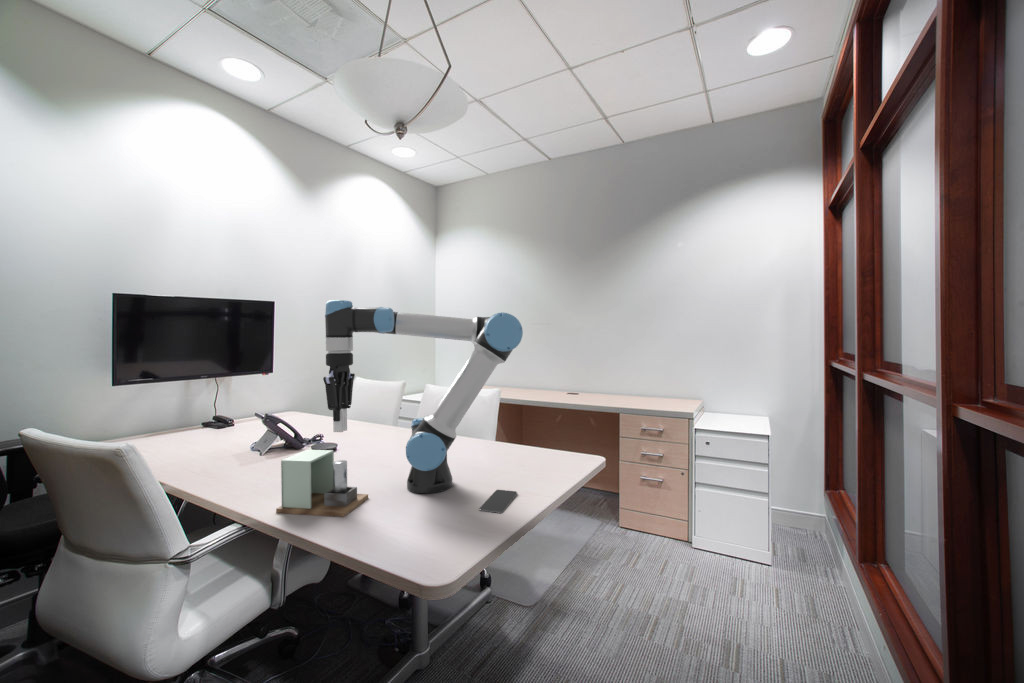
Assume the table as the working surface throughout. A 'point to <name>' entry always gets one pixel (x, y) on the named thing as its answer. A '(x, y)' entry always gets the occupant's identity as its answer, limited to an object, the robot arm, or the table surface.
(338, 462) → the stub
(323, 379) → the robot arm
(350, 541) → the table surface
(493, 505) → the smartphone
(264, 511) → the table surface
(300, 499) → the cover
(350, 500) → the board
